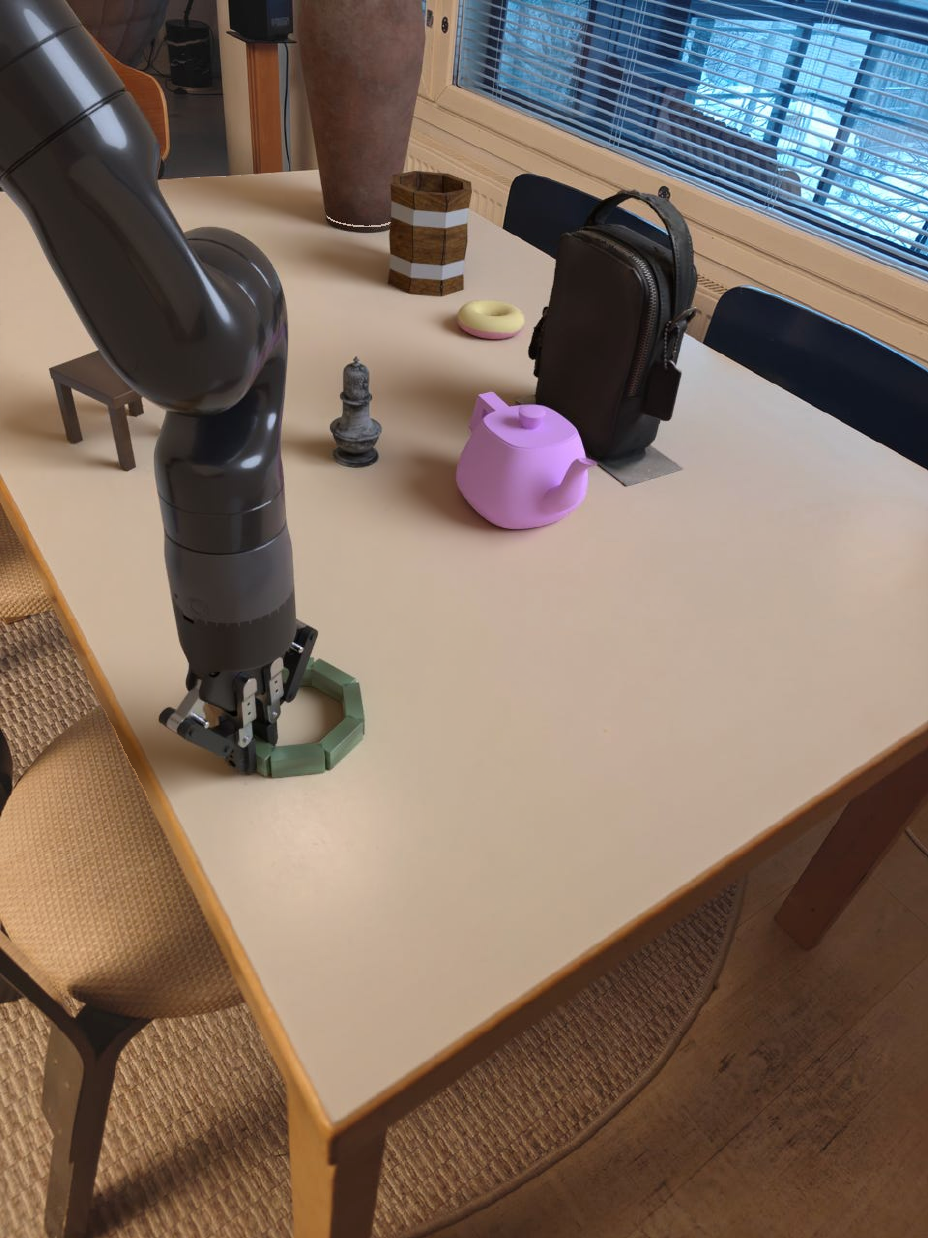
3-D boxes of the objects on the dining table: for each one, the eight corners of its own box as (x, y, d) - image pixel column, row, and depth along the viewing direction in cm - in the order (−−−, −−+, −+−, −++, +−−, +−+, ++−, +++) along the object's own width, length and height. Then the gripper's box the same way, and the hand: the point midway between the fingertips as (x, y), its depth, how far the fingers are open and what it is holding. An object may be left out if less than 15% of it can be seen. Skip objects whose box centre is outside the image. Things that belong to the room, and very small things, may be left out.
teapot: (525, 571, 85) (541, 475, 78) (423, 473, 97) (429, 381, 90) (626, 537, 91) (650, 444, 84) (518, 448, 103) (531, 361, 96)
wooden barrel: (479, 293, 141) (489, 194, 131) (402, 299, 136) (406, 197, 126) (434, 252, 154) (440, 159, 144) (362, 256, 149) (363, 160, 139)
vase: (395, 196, 177) (404, -85, 148) (429, 239, 159) (448, -72, 129) (291, 195, 171) (279, -97, 142) (314, 240, 153) (305, -86, 123)
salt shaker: (348, 474, 96) (348, 373, 88) (320, 450, 99) (317, 351, 91) (391, 459, 99) (395, 361, 91) (362, 437, 102) (363, 340, 94)
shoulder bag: (683, 468, 103) (755, 223, 85) (626, 486, 99) (689, 232, 81) (568, 389, 117) (608, 162, 99) (514, 401, 113) (545, 167, 94)
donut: (518, 357, 128) (518, 323, 134) (527, 330, 125) (527, 297, 131) (453, 341, 127) (456, 308, 133) (460, 313, 123) (463, 280, 129)
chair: (127, 472, 92) (77, 216, 75) (65, 440, 96) (4, 189, 79) (201, 435, 99) (170, 193, 82) (141, 407, 103) (100, 170, 86)
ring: (300, 799, 62) (299, 782, 61) (195, 732, 66) (192, 714, 65) (389, 714, 69) (389, 697, 68) (289, 657, 73) (288, 640, 72)
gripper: (264, 510, 59) (278, 686, 71) (101, 610, 50) (147, 793, 62) (349, 552, 57) (349, 728, 68) (192, 666, 48) (223, 847, 59)
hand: (253, 758), depth 65 cm, fingers closed on ring, 1 cm apart
